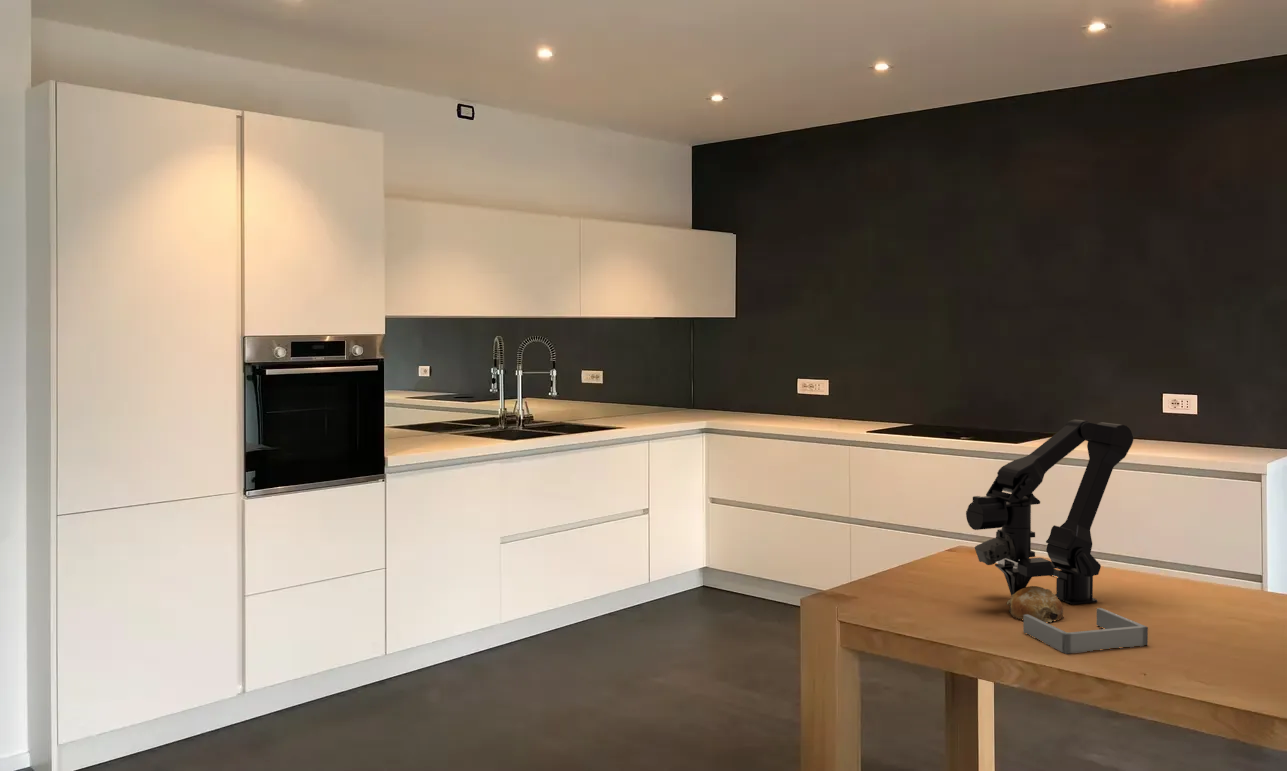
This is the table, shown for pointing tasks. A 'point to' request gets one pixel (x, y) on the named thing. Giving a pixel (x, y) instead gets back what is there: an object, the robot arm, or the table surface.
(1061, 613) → the bread roll
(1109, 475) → the robot arm
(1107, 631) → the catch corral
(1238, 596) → the table surface
